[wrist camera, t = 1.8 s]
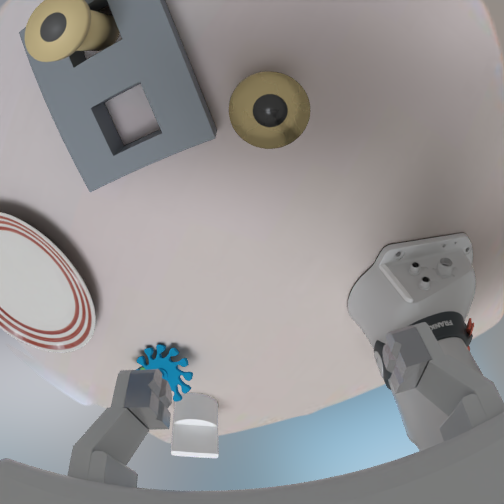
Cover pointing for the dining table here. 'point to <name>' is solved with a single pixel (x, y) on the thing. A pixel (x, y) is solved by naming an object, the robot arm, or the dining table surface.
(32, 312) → the dinner plate
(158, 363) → the gear
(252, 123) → the bushing
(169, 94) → the jig
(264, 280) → the dining table surface
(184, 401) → the white toy chair
